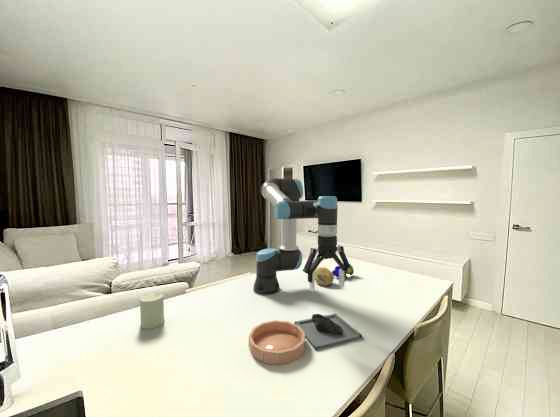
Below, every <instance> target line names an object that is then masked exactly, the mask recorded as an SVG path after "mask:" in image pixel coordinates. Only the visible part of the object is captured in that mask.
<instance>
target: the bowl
mask: <svg viewBox="0 0 560 417" xmlns="http://www.w3.org/2000/svg"><path fill="white" fill-rule="evenodd" d="M305 346H306V338H305V333H304V331H303V330H302V329H301V328H300V327H299V326H298V325H295V324H294V323H293V322H290V321H287V320H277V319H276V320H271V321H265V322H261V323H259V324H258V325H256V326H254V327H253V328H252V329H251V331H250V333H249V335H248V348H249V352H250V354H251V356H252V357H253V358H255V360H257V361H259V362H261V363H263V364H266V365H276V366H278V365H279V366H280V365H287V364H290V363H293V362H295V361H297V360H298V359H299V358H301V357H302V355H303V354H304V352H305ZM296 359H297V360H296Z"/></svg>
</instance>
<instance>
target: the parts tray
mask: <svg viewBox="0 0 560 417" xmlns="http://www.w3.org/2000/svg"><path fill="white" fill-rule="evenodd" d="M323 316H324V317H326V318H328V319H330V320H331V321H333V322H334V323H336V324H337V325H339V326H340V327H341V328H342V330H343V332H344V333H343V334H338V333H336V332H328V331H319V330H317V329H316V327H315V324H314V323H313V322H312V317H310V318H307V319H302V320H297V321H294V323H293V324H295V325H298V326H299V327H300V328H301V329H302V330H303V331H304V333H305V340H306V341H307V342H308V343H309V345H310V346H311V347H312V348H313V349H314V351H319V350H321V349H326V348H330V347H333V346H338V345H341V344H345V343H349V342H353V341H354V342H355V341H357V340H361V339H363V334H362V333H360V332H359V331H358V330H357V329H356V328H354V327H353V326H351V324H349V323H348V322H347V321H346V320H344V319H343V318H342V317H340V316H339V315H338V314H337V313H331V314H326V315H323Z"/></svg>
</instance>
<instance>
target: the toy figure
mask: <svg viewBox="0 0 560 417" xmlns="http://www.w3.org/2000/svg"><path fill="white" fill-rule="evenodd" d="M339 269H341V268H340V266H339V265H337V266H335V268H334V270H331V272H332V273H333V274H334V277H336V278H339ZM346 274H350V275H352V276H353V275H354V267H353V266H352V264H350V268H348V270H347V271H346Z"/></svg>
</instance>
